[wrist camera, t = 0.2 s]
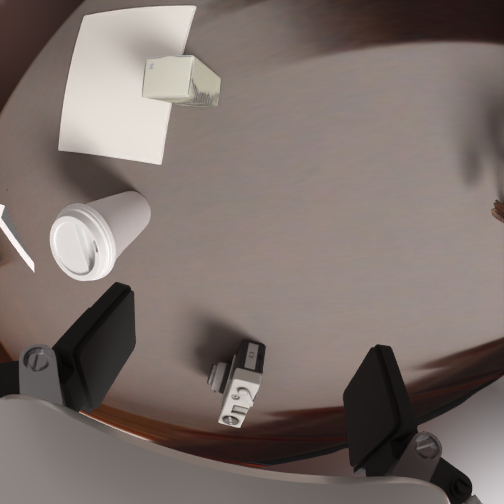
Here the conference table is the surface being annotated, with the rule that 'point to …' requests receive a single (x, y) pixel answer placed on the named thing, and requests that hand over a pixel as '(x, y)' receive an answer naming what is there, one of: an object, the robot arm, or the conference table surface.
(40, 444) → the robot arm
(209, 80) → the box
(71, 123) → the mat
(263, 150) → the conference table surface
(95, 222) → the coffee cup
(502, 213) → the horse figurine
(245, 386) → the camera
